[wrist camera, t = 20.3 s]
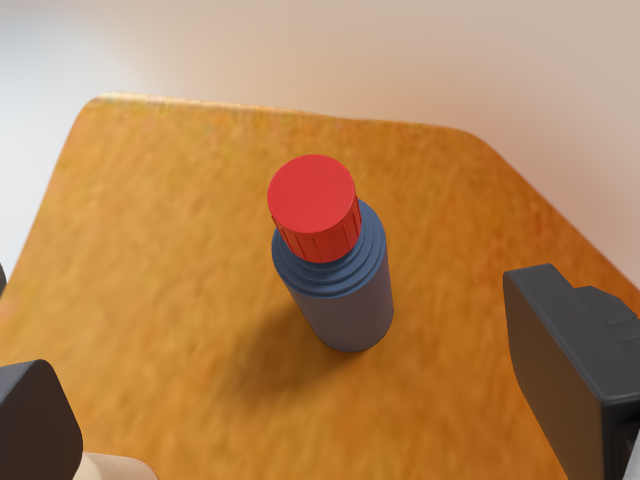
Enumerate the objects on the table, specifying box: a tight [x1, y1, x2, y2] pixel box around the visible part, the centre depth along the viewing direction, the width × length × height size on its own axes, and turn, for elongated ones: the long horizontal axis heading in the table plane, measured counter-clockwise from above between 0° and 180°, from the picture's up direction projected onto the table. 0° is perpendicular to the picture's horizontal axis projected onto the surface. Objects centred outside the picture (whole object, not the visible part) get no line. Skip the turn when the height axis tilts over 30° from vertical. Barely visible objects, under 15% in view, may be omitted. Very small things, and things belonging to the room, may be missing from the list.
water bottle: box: [272, 199, 393, 352], centre depth 36 cm, size 6×6×18 cm
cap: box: [267, 155, 362, 263], centre depth 28 cm, size 4×4×4 cm
